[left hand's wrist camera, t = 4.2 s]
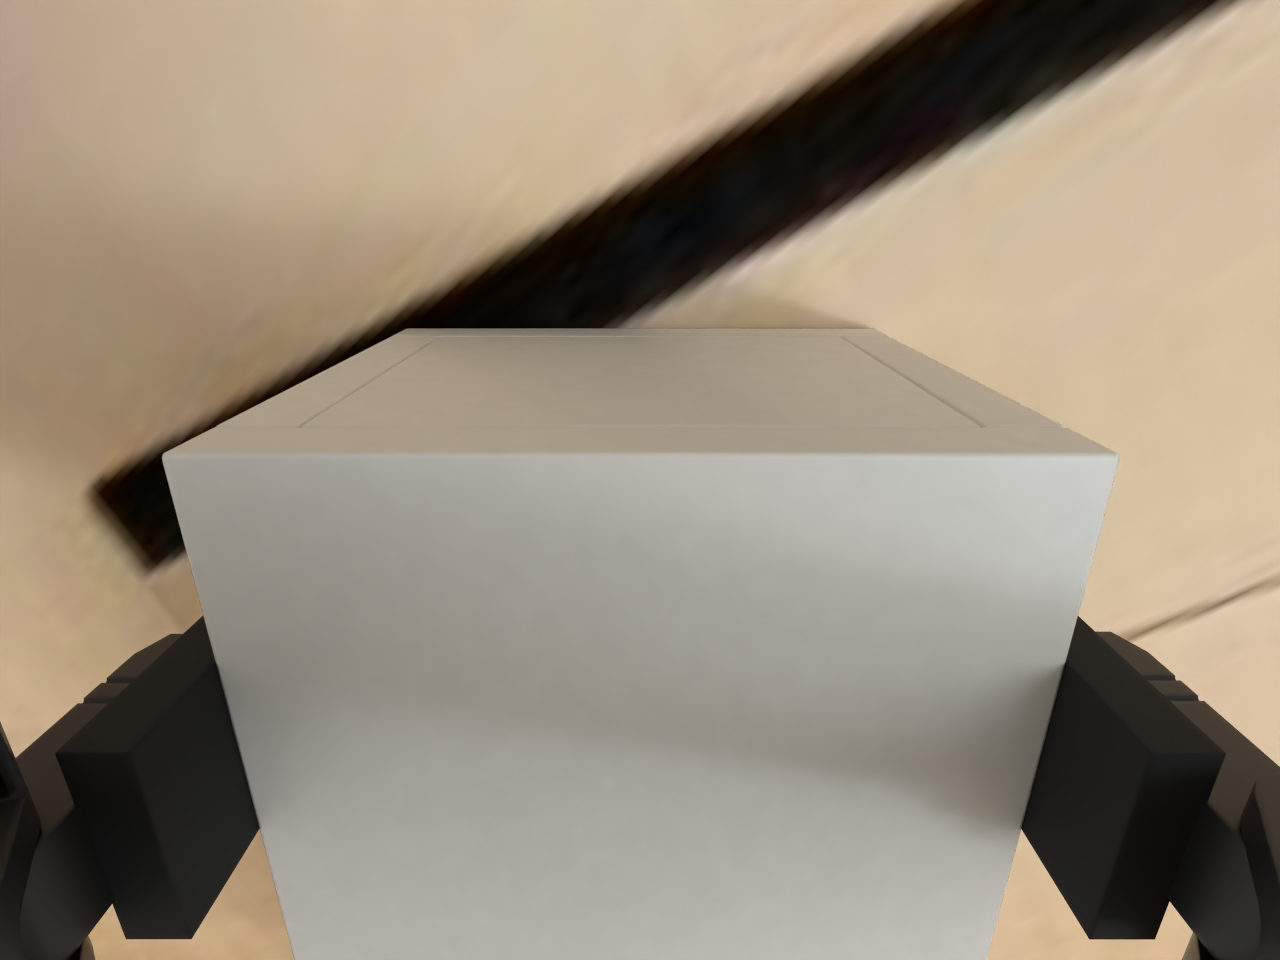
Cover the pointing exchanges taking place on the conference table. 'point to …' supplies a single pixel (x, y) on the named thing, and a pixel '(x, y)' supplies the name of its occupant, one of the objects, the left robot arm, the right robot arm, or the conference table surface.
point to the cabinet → (640, 641)
